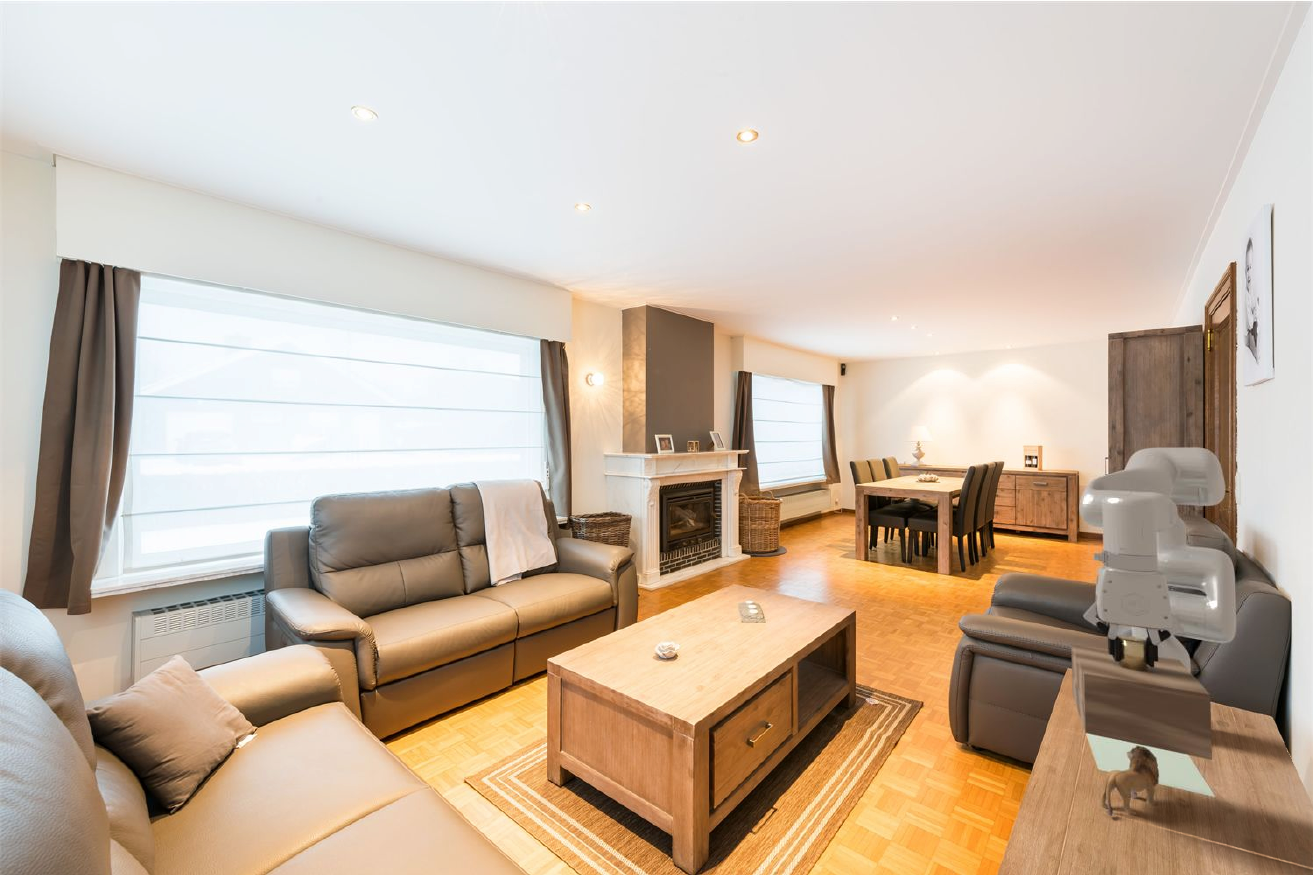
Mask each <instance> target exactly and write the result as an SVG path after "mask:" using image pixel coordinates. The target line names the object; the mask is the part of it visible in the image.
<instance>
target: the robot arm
mask: <svg viewBox="0 0 1313 875" xmlns="http://www.w3.org/2000/svg"><path fill="white" fill-rule="evenodd" d="M1225 495H1226V482H1225V477H1224V474H1223V469H1222V465H1221V462H1220V461H1219V459H1218V457H1217V456H1216V454H1215V453H1214V452H1212V451H1211V450H1209V449H1207V448H1203V447H1197V446H1196V447H1195V446H1194V447H1192V446H1191V447H1147V448H1143V449H1140V450H1137V451H1135V452H1134V453H1133V454H1132V455H1131V456H1130V457H1129V459H1128V461H1127V463H1126V465H1125V467H1124V469H1123V470H1119V471H1115V472H1112V473H1109V474H1105V475H1103V476H1098V477H1097V478H1094V479H1093V480H1091V481H1090V482H1089V483H1088V484H1087V485H1086V487H1085V488H1084V491H1083V493H1082V494H1081V497H1080V499H1079V500H1080V501H1079V507H1078V510H1079V514H1080V517H1081V519H1082V521H1084V522H1085V523H1086V525H1089V526H1091V527H1097V528H1102V544H1103V549H1102V551H1101V552H1098V553H1096V552H1094V553H1093V560H1094V561H1098V562H1100V563H1102V564H1103V565H1100V566H1099V568H1098V572H1097V577H1096V583H1095V584H1096V585H1095V586H1096V587H1095V595H1094V596H1095V598H1094V600H1095V601H1094V602H1093V604H1092V605H1091V606H1090V607H1089V608H1088V609H1087V610H1086V611H1085V612H1084V613H1083V615H1082V616H1083V618H1084V620H1086V621H1087V622H1089V623H1091V624H1092V625H1093V626H1095V627H1097V629H1099V630H1100V631H1101V632H1102V633H1103V634H1105V635H1106V637H1107V650H1108V653H1109V655H1112V656H1113V658H1114V660H1115V661H1116V662H1119V661H1121V656H1120V640H1119V639H1118V636H1119V635H1118V632H1119V627H1120V626H1125V627H1130V629H1131V636H1134V637H1138V638H1141V639H1144V640H1146V641H1147V664H1148V666H1150V667H1154V661H1156V662H1158V657H1162V658H1169V659H1176V660H1180V661H1181V663H1182V664H1183V665H1184V666H1185V667H1186V668H1187V669H1188V670H1189V671H1190V673H1191V672H1192V671H1191V658H1190V654H1189V653H1188V651H1187V649H1186V647H1185V646H1184V645H1183V644H1182V643H1181V642H1180V641H1179V640H1178V639H1177V638H1176V637H1183V638H1188V639H1193V640H1194V639H1195V640H1201V641H1205V642H1206V641H1207V642H1211V643H1218V644H1227V643H1230V642H1232V641H1233V640H1234V638H1235V636H1236V634H1237V633H1236V632H1237V606H1236V604H1237V601H1236V599H1237V598H1236V574H1235V568H1234V564H1233V561H1232V558H1231V557H1230V556H1229V554H1227V553H1226V552H1224V551H1222V550H1220V549H1216V548H1209V547H1203V546H1191V545H1188V543H1187V533H1188V532H1187V529H1188V528H1187V525H1186V523H1185V521H1184V520H1182V518H1181V517H1180V516H1179V514H1178V513H1179V512H1178V506H1177V505H1184V506H1201V507H1202V506H1203V507H1204V506H1205V507H1208V506H1210V507H1211V506H1216V505H1218V504H1220V503H1221V502H1223V500H1224V498H1225ZM1169 586H1171V587H1177V588H1185V589H1191V590H1198V591H1202V592H1203V593H1204V594H1205V595H1200V594H1192V593H1187V592H1186V593H1185V592H1180V591H1173V590H1169ZM1097 615H1098V618H1097ZM1105 623H1106V624H1105ZM1191 674H1192V673H1191Z"/></svg>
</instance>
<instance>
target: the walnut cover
mask: <svg viewBox="0 0 1313 875" xmlns="http://www.w3.org/2000/svg"><path fill="white" fill-rule="evenodd" d="M1117 636H1118V639H1119V640H1120V656H1121V661H1119V662H1116V661H1115V660H1114V658H1113V656H1112V655H1109V653H1108V648H1107V649H1106V648H1099V647H1093V646H1086V645H1079V644H1073V643H1072V644H1071V647H1070V648H1071V676H1072V678H1071V679H1072V680H1071V682H1072V683H1071V684H1072V685H1071V686H1072V699H1073V701H1074V705H1075V706H1076V709H1077V710H1076V711H1077V713H1078V716H1079V718H1080V722H1081V724H1082V727H1083V730H1084V732H1085V734H1086V733H1088V734H1092V735H1097V736H1102V737H1107V738H1111V739H1116V740H1121V741H1125V742H1130V743H1135V744H1139V745H1144V746H1149V747H1154V748H1158V749H1163V750H1168V751H1172V752H1177V753H1182V754H1186V755H1189V756H1190V757H1197V758H1201V759H1206V760H1211V761H1212V760H1213V742H1212V741H1213V740H1212V738H1213V736H1212V713H1211V712H1212V710H1211V705H1212V704H1211V694H1210V693H1209V691H1208V690H1207V689H1206V688H1205V687H1204V686H1203V684H1201V683H1200V681H1199V680H1198V679H1197V678H1196V677H1195V676H1194V675H1193V673H1190V671H1191V670H1190V671H1189V670H1188V669H1187V668H1186V667H1185V666H1184V665H1183V664H1182V663H1181V661H1180V660H1176V659H1169V658H1162V657H1158V662H1156V661H1154V667H1150V666H1148V664H1147V641H1146V640H1144V639H1141V638H1138V637H1134V636H1132V635H1123V634H1122V635H1117Z"/></svg>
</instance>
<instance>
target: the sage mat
mask: <svg viewBox="0 0 1313 875" xmlns="http://www.w3.org/2000/svg"><path fill="white" fill-rule="evenodd" d="M1085 735H1086V738H1087V741H1088V744H1089V746H1090V749H1091V752H1092V755H1093V758H1094V761H1095V763H1096V767H1097V770H1099V771H1102V772H1106V773H1109V772H1110V771H1112V770H1120V771H1125V770H1128V769H1129V766H1130V759H1129V758H1128V757H1127V752H1129V751H1131V750H1132V748H1135V747H1136V746H1141V747H1145V748H1147V749H1149V750H1150V752H1151V753H1152V754H1153V755H1154V756H1155V757H1156V758H1157V764H1158V767H1157V768H1158V770H1159V779H1158V780H1159V783H1158V784H1157V785H1161V786H1165V787H1170V788H1174V789H1179V790H1182V791H1187V792H1191V793H1194V794H1199V795H1202V796H1203V795H1204V796H1208V797H1212V798H1216V795H1215V794H1214V792H1213V791H1212V789H1211V787H1210V786H1209V784H1208V783H1207V781H1206V780H1205V778H1204V777H1203V775H1202V774H1201V772H1200V770H1199V769H1198V768H1197V766H1196V765H1195V763H1194V761H1193V759H1192V758H1191V756H1190V755H1186V754H1182V753H1177V752H1172V751H1168V750H1163V749H1158V748H1154V747H1149V746H1144V745H1139V744H1135V743H1130V742H1125V741H1121V740H1116V739H1111V738H1107V737H1102V736H1097V735H1092V734H1088V733H1085Z"/></svg>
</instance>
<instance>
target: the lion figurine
mask: <svg viewBox="0 0 1313 875" xmlns="http://www.w3.org/2000/svg"><path fill="white" fill-rule="evenodd" d="M1127 757H1128V758H1129V759H1130V766H1129V769H1128V770H1125V771H1120V770H1112V771H1110V772H1107V774H1106V776H1105V780H1104V788H1103V792H1102V793H1101V794H1100V803H1099V806H1100V807H1101V808H1104V809H1108V810H1107V814H1108V816H1110V817H1112V816H1113V811H1114V810H1113V808H1112V803H1111V802H1112V801H1111V793H1112V792H1113V791H1114V790H1115V789H1117V791H1118V793H1119V795H1120V797H1121V799H1122V803H1121V804H1122V807H1123V808H1124V810H1125V811H1126V813H1128V814H1130V815H1135V816H1136V815H1137V812H1136V811H1135V810H1133V809H1131V806H1130V803H1131V798H1133V799H1138V793H1140V792H1143V791H1144V790H1145V792H1146V799H1145V800H1146V803H1147V804H1148V805H1150V806H1156V803H1155V802H1154V798H1155V792H1156V791H1155V787H1156V786H1157V785H1159V784H1158V783H1159V780H1158V779H1159V770H1158V768H1157V767H1158V764H1157V758H1156V757H1155V756H1154V755H1153V754H1152V753H1151V752H1150V750H1149V749H1147V748H1145V747H1141V746H1136V747H1135V748H1132V750H1131V751H1129V752H1127Z"/></svg>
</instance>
